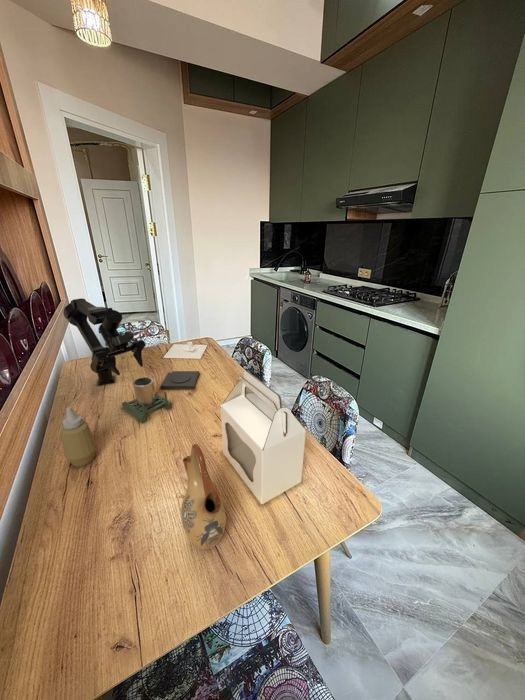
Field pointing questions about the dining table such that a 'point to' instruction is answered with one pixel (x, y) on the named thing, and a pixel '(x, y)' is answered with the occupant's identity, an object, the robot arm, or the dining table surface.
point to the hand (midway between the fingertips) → (131, 370)
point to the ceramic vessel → (201, 504)
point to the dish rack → (138, 413)
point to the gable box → (262, 438)
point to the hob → (180, 380)
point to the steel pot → (144, 391)
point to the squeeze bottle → (77, 439)
